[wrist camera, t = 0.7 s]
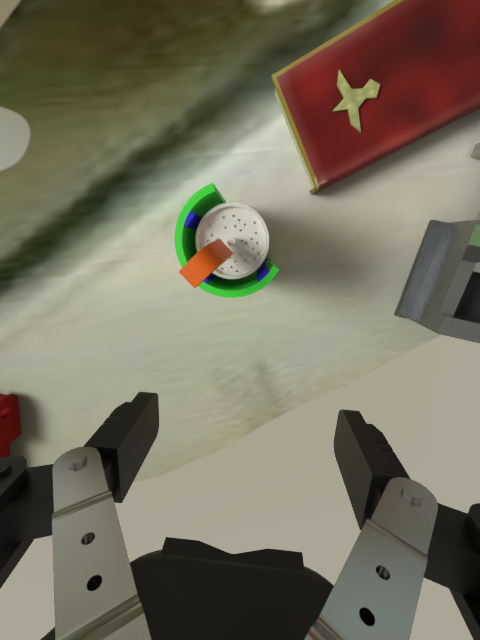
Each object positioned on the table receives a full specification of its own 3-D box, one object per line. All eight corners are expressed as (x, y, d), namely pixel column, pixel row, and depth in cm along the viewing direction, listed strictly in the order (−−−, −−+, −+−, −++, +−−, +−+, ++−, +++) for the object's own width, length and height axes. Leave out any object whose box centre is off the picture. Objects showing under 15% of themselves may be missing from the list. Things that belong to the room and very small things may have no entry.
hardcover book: (490, 103, 32) (523, 83, 28) (310, 196, 35) (317, 190, 31) (459, -19, 29) (491, -61, 25) (270, 94, 33) (271, 73, 29)
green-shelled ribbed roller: (285, 242, 36) (308, 243, 19) (247, 292, 38) (237, 334, 21) (227, 197, 35) (196, 154, 18) (191, 251, 37) (132, 258, 20)
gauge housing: (429, 220, 35) (471, 215, 28) (511, 238, 34) (572, 238, 28) (394, 314, 38) (423, 330, 31) (468, 331, 38) (514, 351, 31)
